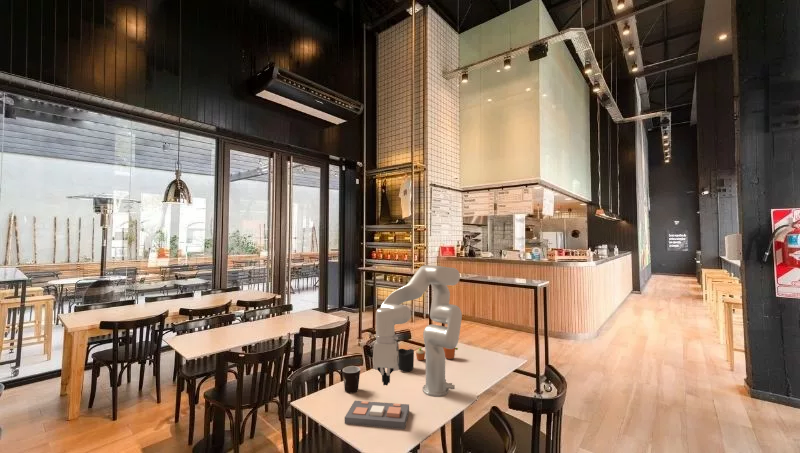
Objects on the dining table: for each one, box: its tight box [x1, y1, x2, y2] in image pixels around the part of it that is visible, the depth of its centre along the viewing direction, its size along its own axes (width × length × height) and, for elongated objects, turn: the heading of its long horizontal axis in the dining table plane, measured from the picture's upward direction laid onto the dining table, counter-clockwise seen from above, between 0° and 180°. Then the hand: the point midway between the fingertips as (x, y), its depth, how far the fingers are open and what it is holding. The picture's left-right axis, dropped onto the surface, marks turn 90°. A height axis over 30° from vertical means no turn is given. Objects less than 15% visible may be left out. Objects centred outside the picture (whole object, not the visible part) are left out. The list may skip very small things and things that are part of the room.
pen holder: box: [398, 348, 415, 372], centre depth 193 cm, size 9×9×10 cm
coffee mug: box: [342, 365, 361, 394], centre depth 165 cm, size 12×9×10 cm
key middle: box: [370, 405, 384, 417], centre depth 139 cm, size 5×5×2 cm
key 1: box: [353, 407, 368, 415], centre depth 140 cm, size 5×5×2 cm
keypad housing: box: [344, 400, 410, 430], centre depth 140 cm, size 24×14×3 cm, turn 81°
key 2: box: [387, 407, 401, 418], centre depth 138 cm, size 5×5×2 cm
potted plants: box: [415, 347, 459, 361], centre depth 211 cm, size 26×16×10 cm, turn 123°
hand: (386, 383), depth 139 cm, fingers closed
